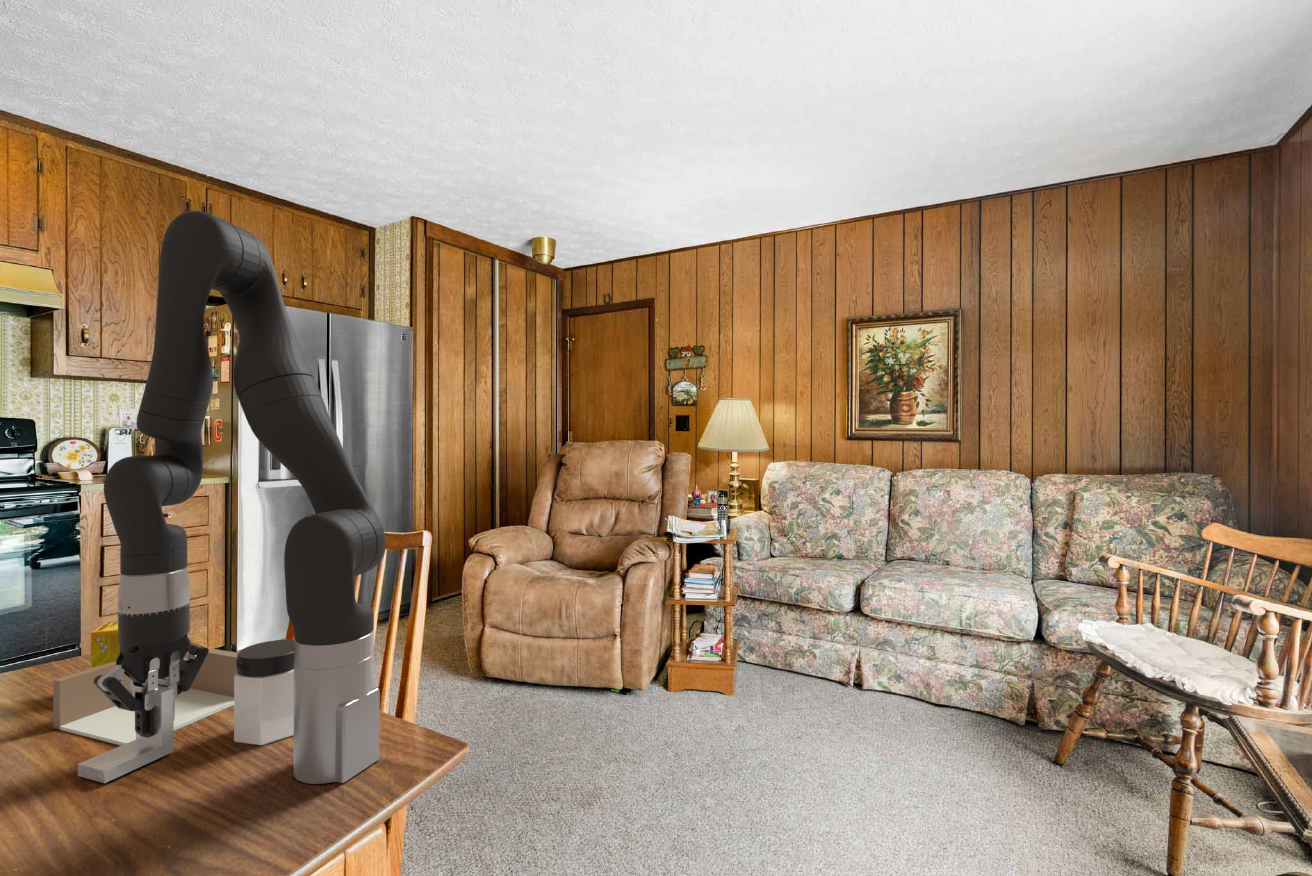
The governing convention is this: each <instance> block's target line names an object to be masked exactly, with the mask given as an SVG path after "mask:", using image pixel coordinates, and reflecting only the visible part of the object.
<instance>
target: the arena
mask: <svg viewBox="0 0 1312 876" xmlns="http://www.w3.org/2000/svg"><path fill="white" fill-rule="evenodd" d="M205 648H208V649H209V652H208V654H207V656H206V658H205V660H204V662H203V664H202V666H201V668H200V670H199V672H198V673H197V675H196V677H195V679H194V681H193V683H192V685H191V687H190V689H189V690H188V691H186V692H181V693H180V694H179V695H177V698H176V699H175V700H174V731H176V730H179V729H181V728H184V727H187V726H188V725H190V724H193V723H195V722H197V721H200V720H203V719H205V718H207V717H209V716H211V715H213V714H217V713H218V712H221V711H223V710H226V709H228V708H230V707H234V676H235V675H236V674H237V667H236V660H237V654H238V653H239V652H234V651H228V650H224V649H223V650H222V649H217V648H211V647H205ZM182 661H183V660H182ZM181 663H182V662H181ZM180 665H181V664H180ZM180 665H179V667H180ZM115 666H116V661H114V662H111V663H108V664H104V665H101V666H98V667H95V668H91V667H90V668H89V669H84V670H82V671H78V672H76V673H72V674H68V675H66V676H61V677H58V678H56V679H53V681H52V682H53V683H52V685H53V686H52V687H53V689H52V690H53V692H52V693H53V695H52V696H53V697H52V698H53V701H52V704H53V705H52V707H53V709H52V710H53V714H52V715H53V716H52V717H53V719H52V720H53V721H52V722H53V723H52V725H53V726H52V727H53V728H52V729H56V730H60V731H64V732H68V733H71V734H75V735H78V736H82V737H87V738H90V739H95V740H98V741H101V742H105V743H110V744H114V745H116V746H117V745H118V746H122V745H124V744H126V743H129V742H131V741H133V740H136V731H135V711H128V710H124V709H119V708H117V707H116V706H115V705H114V703H113V702H112V701H111V700H110V699H109V698H108V697H107V696H106V695H105V694H104V693H103V692H102V691H101V690H100V689H99V688H98V687H97V686H96V685H95V684H94V679H95V678H96V677H97V676H99V675H106V674H107V673H108V672H109V671H110V670H111V669H113V668H114V667H115ZM123 678H124V681H125V683H124V684H122V685H123V686H124V687H125V688H126V689H127V690H128V691H129V692H130V693H131V694H132V695H133V692H132V691H131V689H130V678H129V677H128V676H126V675H125V674H124V673H123Z"/></svg>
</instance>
